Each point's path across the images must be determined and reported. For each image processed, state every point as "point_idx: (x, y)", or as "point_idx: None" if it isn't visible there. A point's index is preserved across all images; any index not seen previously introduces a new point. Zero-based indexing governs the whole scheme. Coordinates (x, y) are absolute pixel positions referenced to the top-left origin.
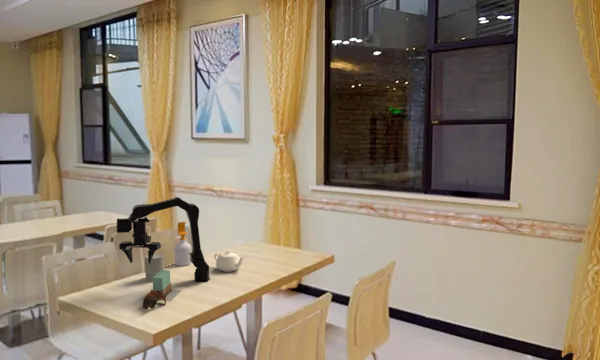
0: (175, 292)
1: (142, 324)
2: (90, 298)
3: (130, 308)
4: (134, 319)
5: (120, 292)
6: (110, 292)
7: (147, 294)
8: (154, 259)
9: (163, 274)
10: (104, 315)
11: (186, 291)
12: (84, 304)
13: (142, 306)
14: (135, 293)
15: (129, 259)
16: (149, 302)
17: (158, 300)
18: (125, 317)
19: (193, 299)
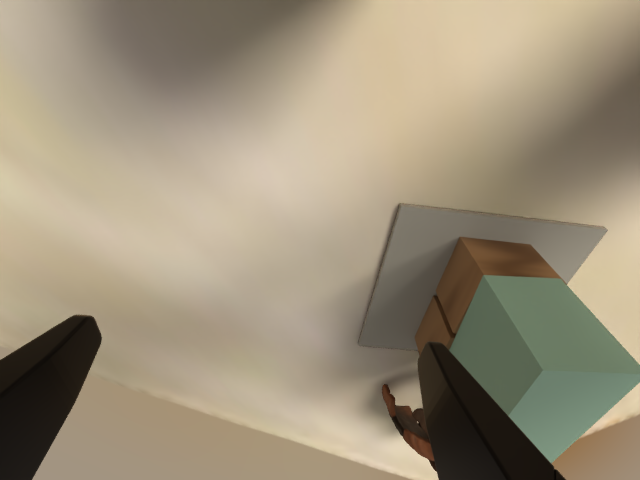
0: (553, 264)
1: (408, 466)
2: (70, 314)
3: (335, 397)
4: (377, 449)
5: (178, 238)
6: (109, 237)
7: (418, 451)
8: None
9: (554, 440)
10: (263, 431)
11: (632, 231)
12: (108, 367)
13: (385, 402)
14: (288, 256)
15: (40, 428)
16: (430, 461)
17: None
18: (343, 441)
19: (628, 334)
